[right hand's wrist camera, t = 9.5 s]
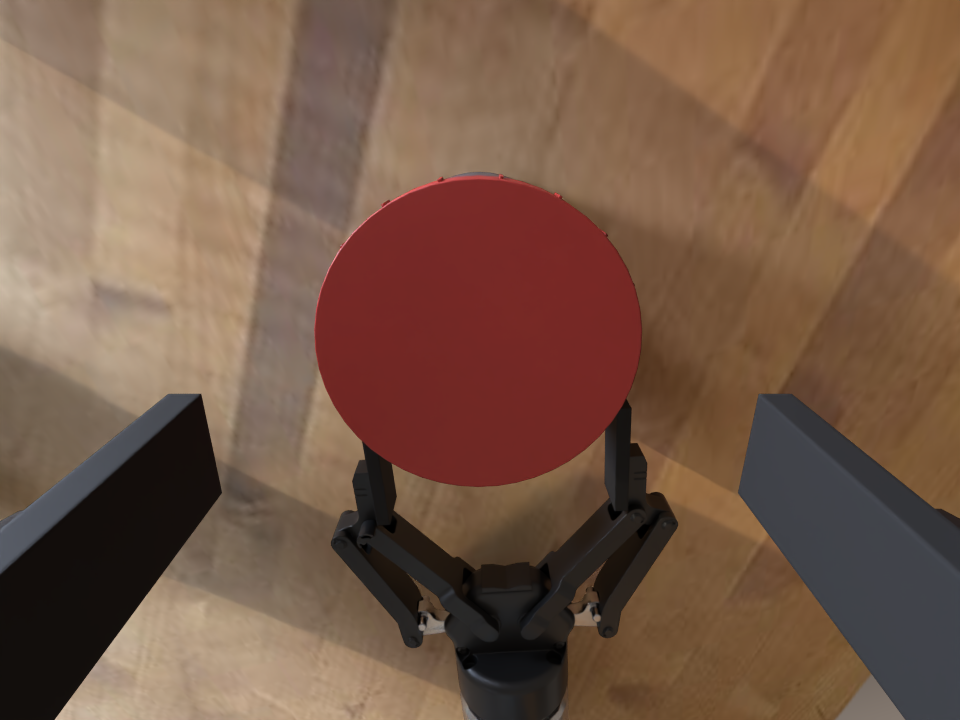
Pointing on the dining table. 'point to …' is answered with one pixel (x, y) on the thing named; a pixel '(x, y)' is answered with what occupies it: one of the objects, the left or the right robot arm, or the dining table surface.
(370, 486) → the left robot arm
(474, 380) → the lid
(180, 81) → the dining table surface
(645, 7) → the dining table surface
